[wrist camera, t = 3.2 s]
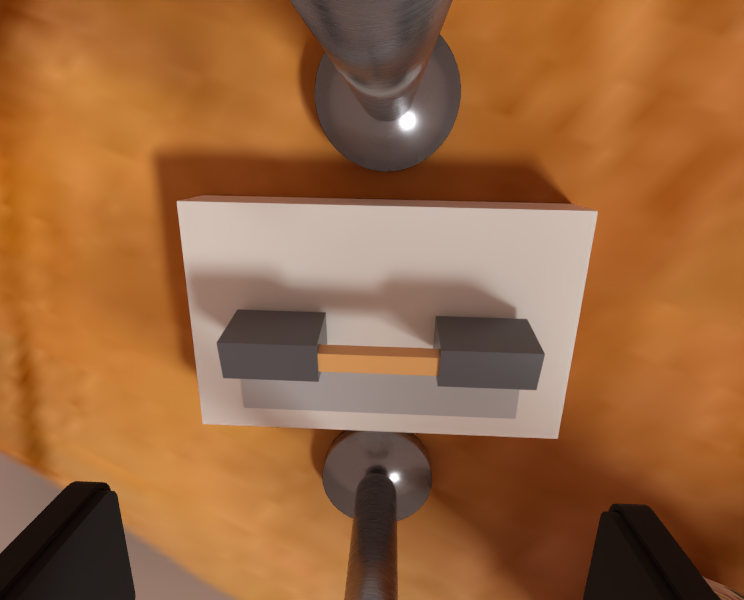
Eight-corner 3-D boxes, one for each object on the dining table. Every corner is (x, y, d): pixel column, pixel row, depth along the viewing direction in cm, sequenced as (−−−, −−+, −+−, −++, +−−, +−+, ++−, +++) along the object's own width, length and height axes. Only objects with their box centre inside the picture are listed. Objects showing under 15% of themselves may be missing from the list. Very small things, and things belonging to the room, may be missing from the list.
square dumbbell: (237, 309, 18) (216, 342, 16) (527, 318, 18) (544, 353, 16) (242, 342, 19) (223, 378, 17) (520, 352, 18) (536, 390, 16)
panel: (202, 195, 20) (175, 201, 17) (572, 203, 19) (598, 211, 17) (222, 395, 23) (201, 425, 20) (540, 408, 22) (558, 440, 20)
